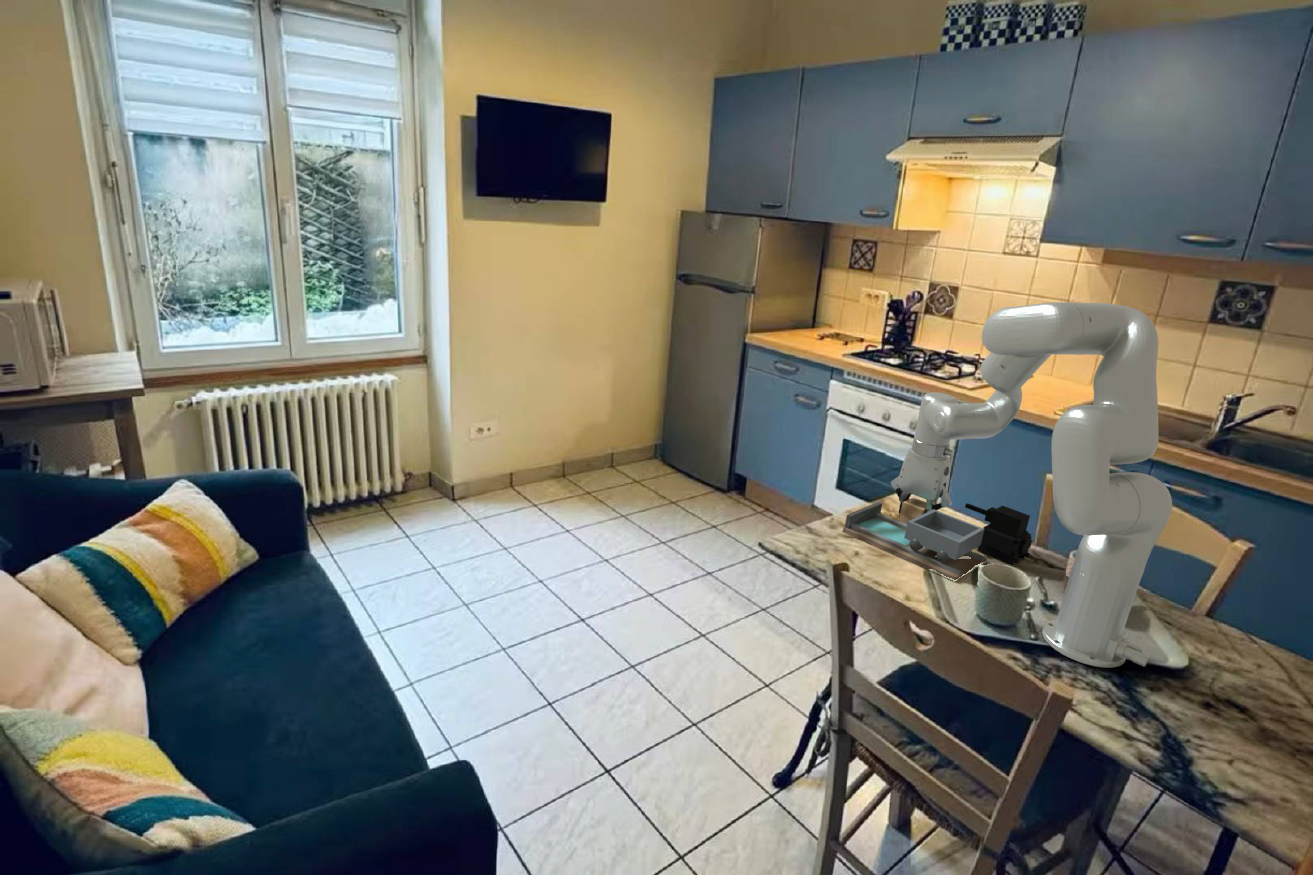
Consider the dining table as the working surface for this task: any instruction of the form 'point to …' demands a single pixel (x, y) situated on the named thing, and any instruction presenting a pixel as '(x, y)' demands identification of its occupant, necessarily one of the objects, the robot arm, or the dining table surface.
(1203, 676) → the dining table surface
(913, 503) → the block
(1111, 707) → the dining table surface
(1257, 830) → the dining table surface
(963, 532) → the cart
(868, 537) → the track
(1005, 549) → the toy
